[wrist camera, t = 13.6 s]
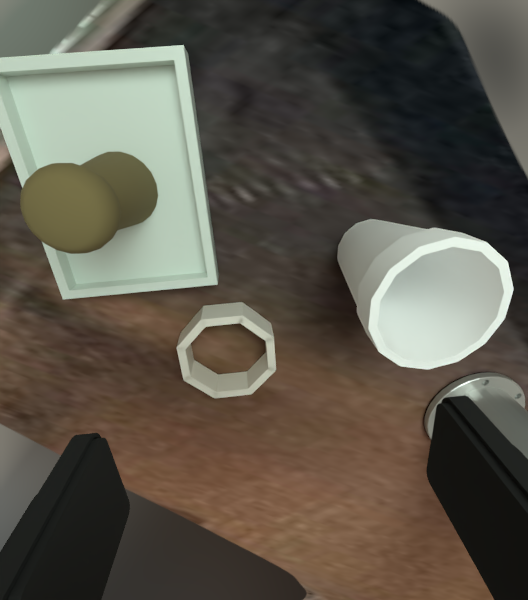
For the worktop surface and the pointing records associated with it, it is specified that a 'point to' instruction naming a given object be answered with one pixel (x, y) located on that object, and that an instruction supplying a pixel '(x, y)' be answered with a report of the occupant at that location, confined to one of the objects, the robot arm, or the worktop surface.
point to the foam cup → (424, 290)
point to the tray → (118, 138)
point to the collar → (232, 381)
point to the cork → (87, 201)
